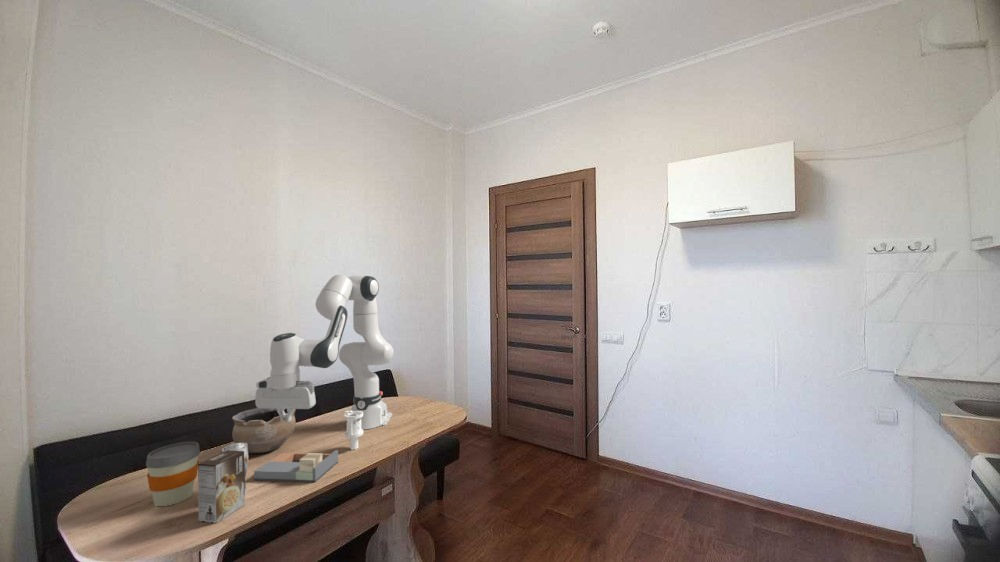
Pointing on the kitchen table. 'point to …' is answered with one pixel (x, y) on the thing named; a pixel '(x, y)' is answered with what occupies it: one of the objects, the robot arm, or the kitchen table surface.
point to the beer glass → (240, 448)
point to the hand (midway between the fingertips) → (286, 420)
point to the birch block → (310, 461)
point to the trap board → (294, 468)
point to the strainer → (353, 427)
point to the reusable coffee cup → (172, 472)
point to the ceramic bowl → (262, 429)
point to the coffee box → (221, 485)
